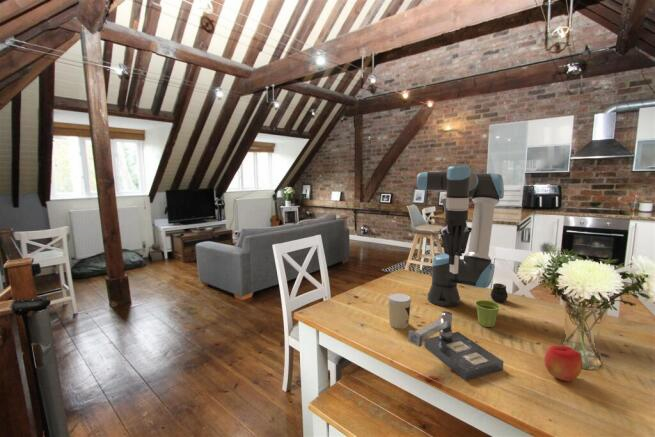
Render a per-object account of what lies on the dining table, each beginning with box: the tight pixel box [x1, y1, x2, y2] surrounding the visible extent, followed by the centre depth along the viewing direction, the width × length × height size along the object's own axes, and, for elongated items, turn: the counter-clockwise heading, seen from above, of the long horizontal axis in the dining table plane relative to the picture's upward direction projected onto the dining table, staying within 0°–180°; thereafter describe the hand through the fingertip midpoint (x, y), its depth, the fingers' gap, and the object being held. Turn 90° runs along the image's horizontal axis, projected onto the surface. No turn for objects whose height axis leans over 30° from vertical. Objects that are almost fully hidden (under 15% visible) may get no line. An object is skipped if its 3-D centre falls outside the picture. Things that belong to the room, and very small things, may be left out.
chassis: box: [424, 329, 504, 382], centre depth 106 cm, size 15×20×6 cm
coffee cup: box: [387, 292, 412, 330], centre depth 129 cm, size 9×9×12 cm
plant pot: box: [474, 299, 501, 328], centre depth 128 cm, size 9×9×9 cm
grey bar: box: [407, 310, 453, 348], centre depth 107 cm, size 21×4×6 cm, turn 128°
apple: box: [543, 344, 583, 382], centre depth 94 cm, size 10×10×10 cm
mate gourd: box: [490, 282, 508, 303], centre depth 151 cm, size 7×8×10 cm
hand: (453, 272), depth 114 cm, fingers closed
